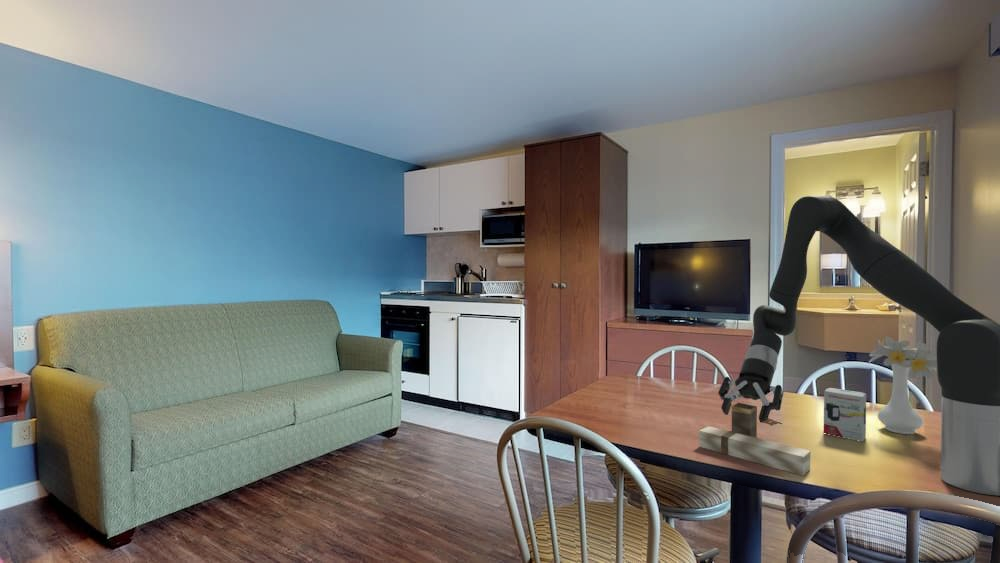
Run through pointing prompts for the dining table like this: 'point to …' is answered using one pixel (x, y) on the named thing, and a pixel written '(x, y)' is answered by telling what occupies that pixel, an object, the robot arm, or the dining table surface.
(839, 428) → the ink box
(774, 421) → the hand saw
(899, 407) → the flower vase
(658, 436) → the dining table surface
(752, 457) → the board
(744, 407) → the brown rectangular block
